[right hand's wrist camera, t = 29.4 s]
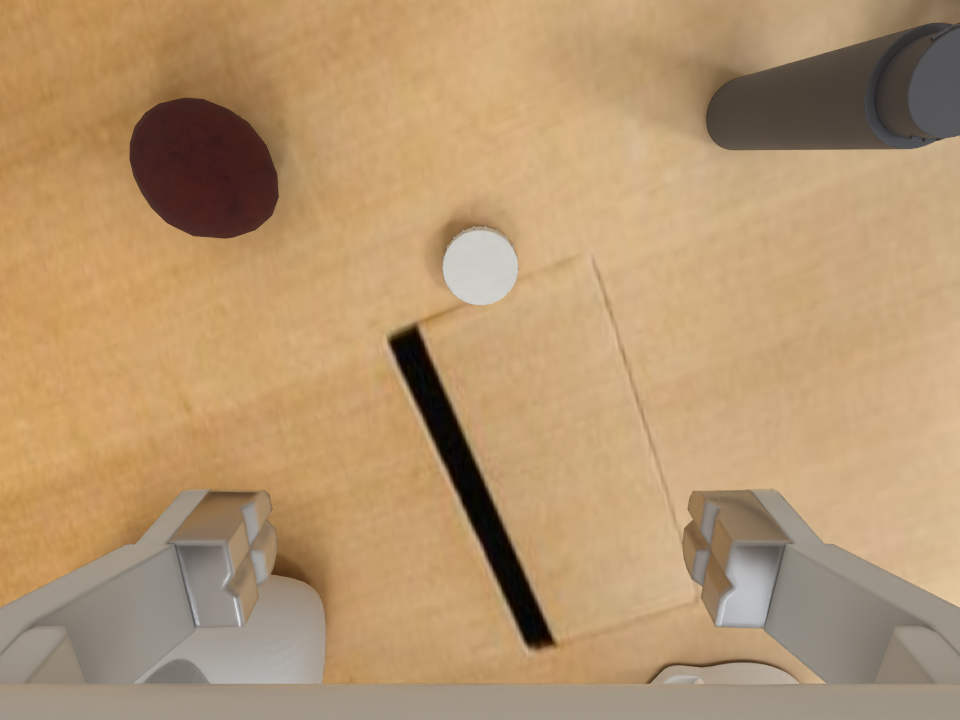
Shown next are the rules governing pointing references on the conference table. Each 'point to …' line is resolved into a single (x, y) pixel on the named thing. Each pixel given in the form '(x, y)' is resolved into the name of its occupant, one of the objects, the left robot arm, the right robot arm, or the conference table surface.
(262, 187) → the potato
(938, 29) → the dark grey cylinder
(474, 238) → the lid
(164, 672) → the white slotted rounded shell
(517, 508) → the conference table surface
